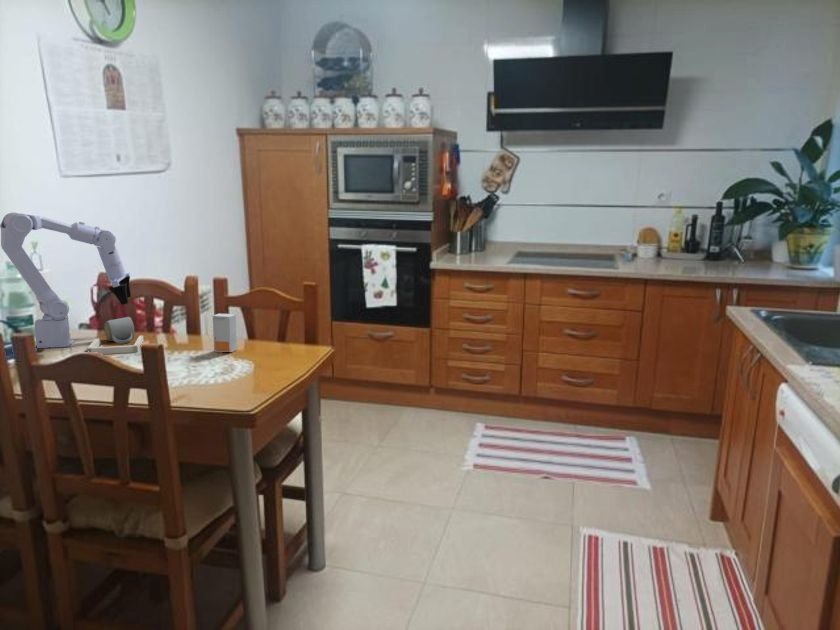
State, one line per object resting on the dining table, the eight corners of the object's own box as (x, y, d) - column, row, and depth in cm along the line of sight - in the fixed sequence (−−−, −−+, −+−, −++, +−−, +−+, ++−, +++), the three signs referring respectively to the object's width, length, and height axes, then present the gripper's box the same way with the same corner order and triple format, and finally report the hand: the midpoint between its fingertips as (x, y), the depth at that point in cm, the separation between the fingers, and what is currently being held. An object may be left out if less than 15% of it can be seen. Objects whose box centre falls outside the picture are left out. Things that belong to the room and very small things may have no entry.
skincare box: (213, 352, 201) (211, 315, 198) (220, 349, 205) (219, 313, 202) (230, 353, 199) (229, 316, 197) (237, 350, 203) (236, 314, 201)
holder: (87, 354, 196) (86, 348, 195) (96, 343, 210) (96, 337, 210) (137, 352, 200) (137, 345, 199) (143, 341, 214) (143, 335, 214)
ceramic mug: (104, 339, 216) (102, 317, 214) (129, 336, 221) (127, 314, 219) (112, 346, 208) (110, 323, 206) (138, 342, 213) (137, 320, 211)
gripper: (121, 266, 210) (135, 303, 215) (127, 256, 223) (140, 291, 228) (99, 271, 209) (114, 309, 214) (106, 261, 222) (120, 296, 227)
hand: (126, 300), depth 221 cm, fingers open, 7 cm apart
